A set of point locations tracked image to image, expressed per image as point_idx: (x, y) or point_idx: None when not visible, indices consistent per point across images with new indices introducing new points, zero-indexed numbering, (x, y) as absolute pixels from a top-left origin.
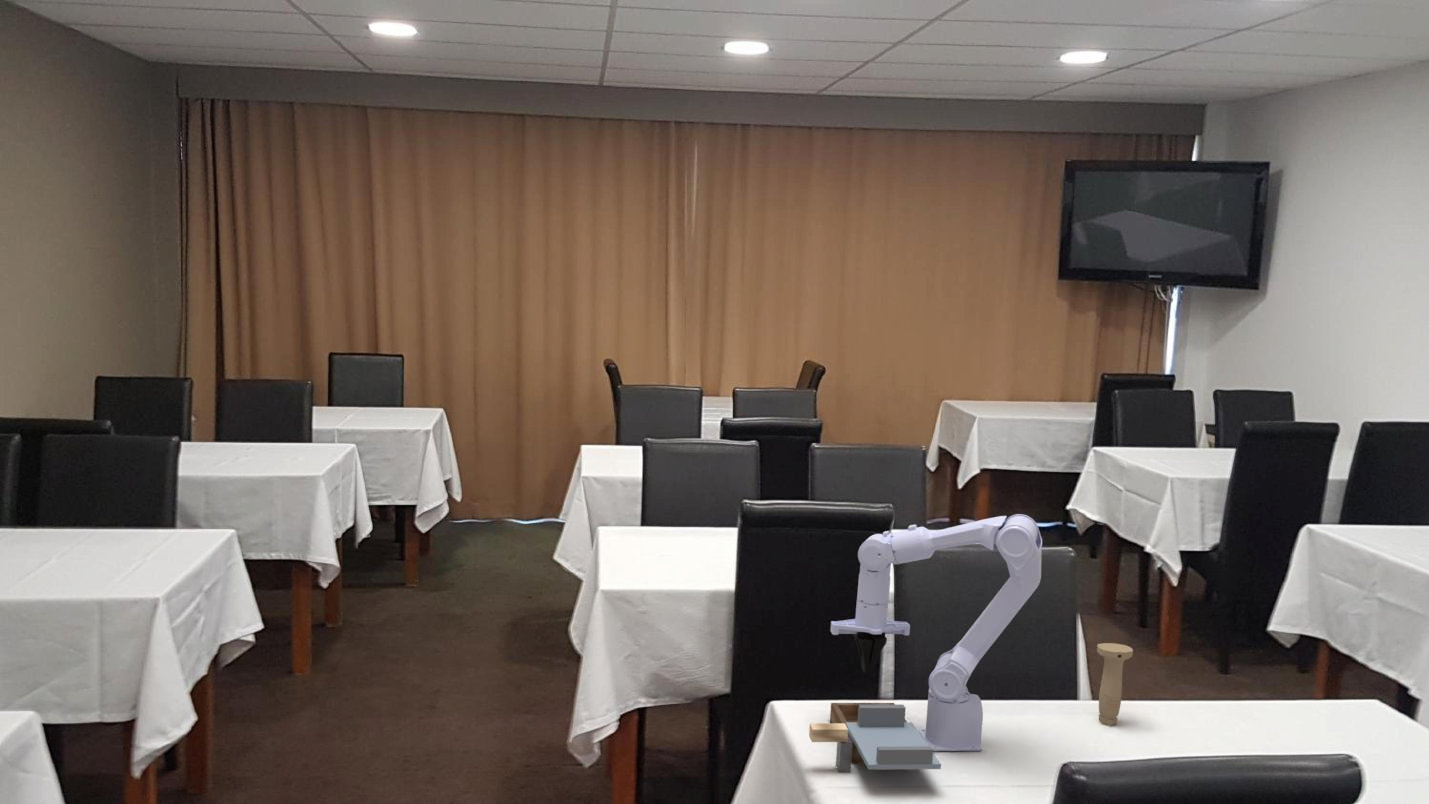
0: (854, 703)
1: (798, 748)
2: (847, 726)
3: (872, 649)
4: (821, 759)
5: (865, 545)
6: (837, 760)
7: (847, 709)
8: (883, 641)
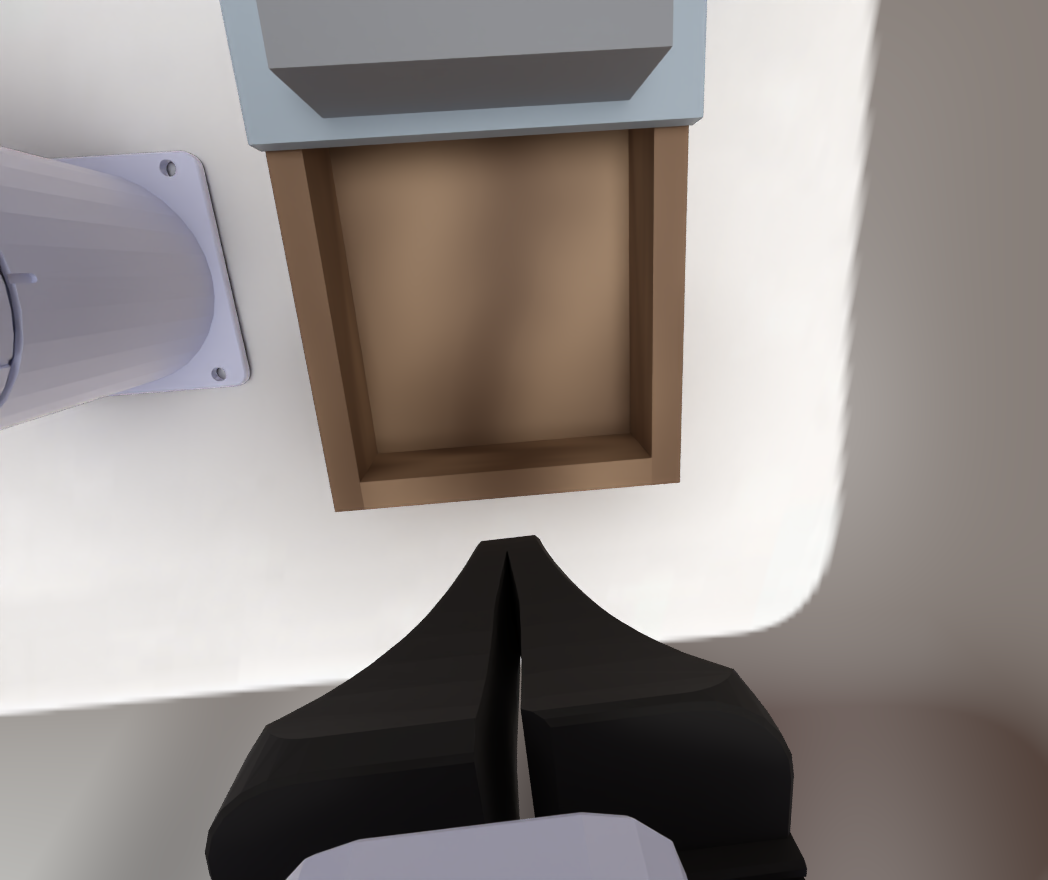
0: (555, 484)
1: (859, 166)
2: (704, 51)
3: (492, 671)
4: (785, 35)
5: None
6: None
7: (591, 455)
8: (297, 747)
